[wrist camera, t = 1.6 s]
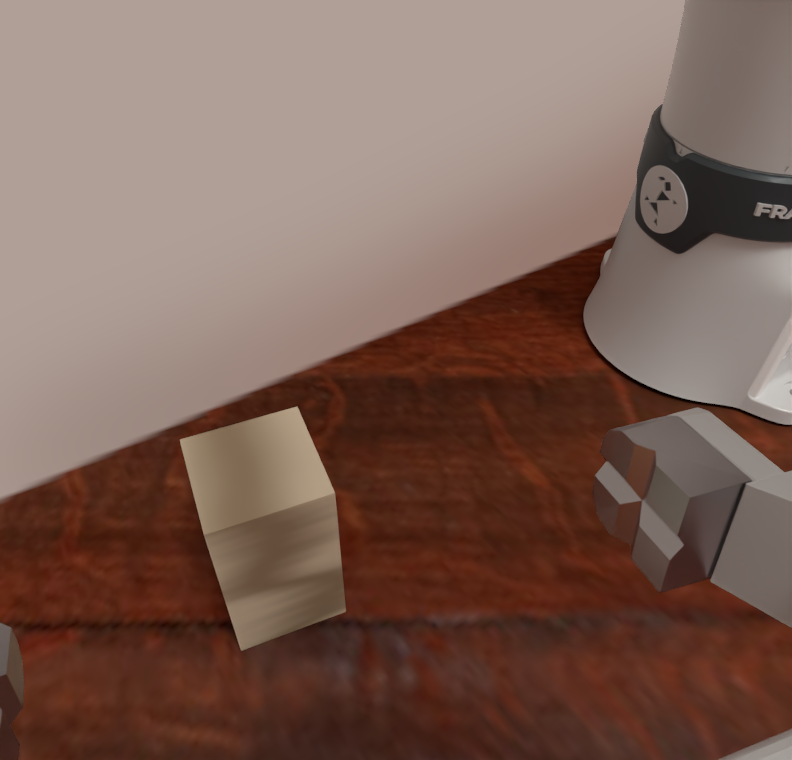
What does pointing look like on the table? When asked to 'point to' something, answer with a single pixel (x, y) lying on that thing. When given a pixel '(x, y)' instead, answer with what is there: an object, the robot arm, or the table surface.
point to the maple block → (268, 524)
